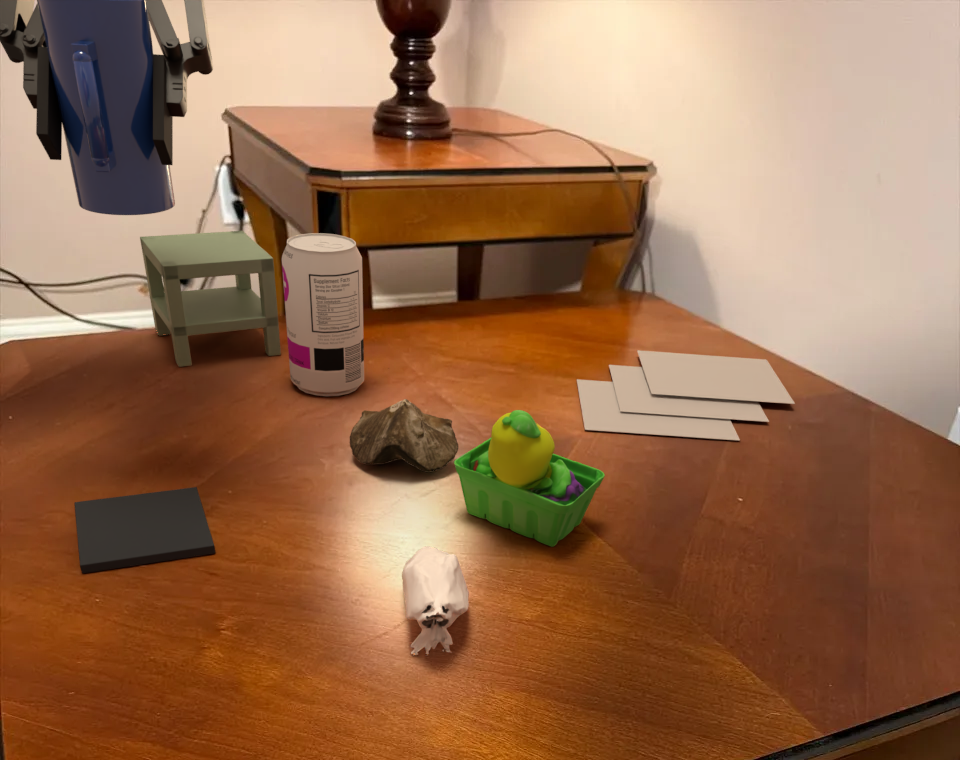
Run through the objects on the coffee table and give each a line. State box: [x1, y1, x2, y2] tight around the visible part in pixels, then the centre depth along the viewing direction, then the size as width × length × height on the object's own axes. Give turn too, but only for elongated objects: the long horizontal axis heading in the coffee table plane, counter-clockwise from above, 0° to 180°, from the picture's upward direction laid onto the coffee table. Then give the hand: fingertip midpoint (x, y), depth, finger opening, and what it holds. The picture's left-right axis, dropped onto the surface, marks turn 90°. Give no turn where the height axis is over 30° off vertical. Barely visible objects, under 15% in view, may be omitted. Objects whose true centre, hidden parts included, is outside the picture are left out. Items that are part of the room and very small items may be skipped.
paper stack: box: [576, 349, 796, 441], centre depth 101 cm, size 23×25×1 cm
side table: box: [139, 230, 282, 368], centre depth 102 cm, size 12×12×11 cm
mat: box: [73, 486, 216, 574], centre depth 71 cm, size 10×10×1 cm
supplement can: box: [281, 232, 365, 397], centre depth 93 cm, size 8×8×15 cm
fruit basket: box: [453, 409, 606, 548], centre depth 73 cm, size 11×9×11 cm
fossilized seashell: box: [349, 398, 459, 473], centre depth 83 cm, size 8×7×10 cm
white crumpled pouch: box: [401, 545, 470, 656], centre depth 63 cm, size 5×7×10 cm
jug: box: [36, 0, 176, 216], centre depth 62 cm, size 10×7×13 cm
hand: (106, 149), depth 62 cm, fingers closed on jug, 7 cm apart
